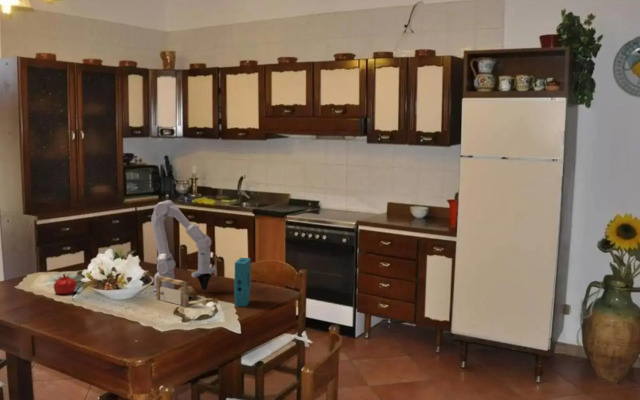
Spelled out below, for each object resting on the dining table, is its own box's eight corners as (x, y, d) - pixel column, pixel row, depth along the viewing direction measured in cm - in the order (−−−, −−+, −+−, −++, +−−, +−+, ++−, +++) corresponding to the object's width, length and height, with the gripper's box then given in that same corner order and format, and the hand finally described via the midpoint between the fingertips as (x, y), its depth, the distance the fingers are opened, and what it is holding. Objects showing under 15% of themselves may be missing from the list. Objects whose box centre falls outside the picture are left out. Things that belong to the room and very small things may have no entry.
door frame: (156, 299, 279) (156, 276, 278) (159, 298, 281) (159, 275, 279) (185, 307, 268) (185, 282, 267) (188, 306, 270) (188, 282, 269)
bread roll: (178, 309, 277) (182, 295, 274) (169, 295, 284) (172, 282, 280) (198, 305, 284) (201, 292, 280) (188, 292, 290) (192, 279, 287)
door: (158, 300, 277) (158, 287, 277) (162, 299, 279) (162, 286, 278) (181, 306, 269) (181, 292, 268) (184, 305, 271) (184, 291, 270)
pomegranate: (71, 296, 282) (71, 277, 281) (50, 295, 282) (49, 276, 281) (80, 290, 292) (79, 271, 291) (59, 289, 292) (59, 271, 291)
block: (245, 307, 269) (245, 263, 267) (234, 307, 270) (234, 263, 268) (250, 300, 281) (251, 258, 279) (240, 299, 282) (240, 257, 280)
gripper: (198, 265, 282) (199, 293, 284) (220, 260, 294) (220, 287, 296) (188, 263, 286) (188, 291, 288) (210, 258, 298) (210, 285, 300)
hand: (204, 289), depth 292 cm, fingers closed
